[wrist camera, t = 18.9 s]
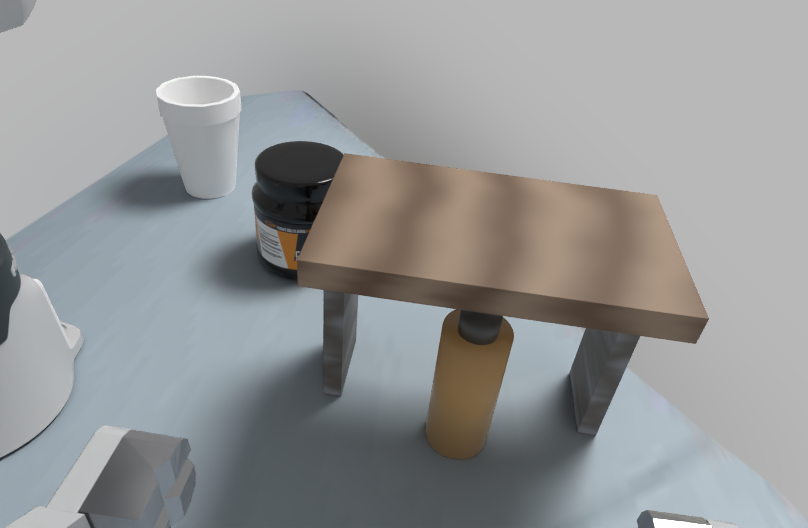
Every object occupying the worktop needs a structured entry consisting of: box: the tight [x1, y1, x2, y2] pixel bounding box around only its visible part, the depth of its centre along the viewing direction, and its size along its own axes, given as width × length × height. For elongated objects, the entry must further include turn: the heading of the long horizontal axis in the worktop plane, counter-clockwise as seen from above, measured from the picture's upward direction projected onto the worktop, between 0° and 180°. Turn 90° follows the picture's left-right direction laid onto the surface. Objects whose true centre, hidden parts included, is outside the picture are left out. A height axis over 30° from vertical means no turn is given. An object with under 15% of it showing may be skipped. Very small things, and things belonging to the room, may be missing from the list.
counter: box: [297, 154, 709, 435], centre depth 47 cm, size 24×14×20 cm, turn 83°
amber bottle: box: [425, 309, 514, 459], centre depth 47 cm, size 5×5×14 cm
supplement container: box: [252, 141, 344, 279], centre depth 65 cm, size 10×10×12 cm
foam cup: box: [156, 76, 241, 199], centre depth 75 cm, size 10×9×13 cm
